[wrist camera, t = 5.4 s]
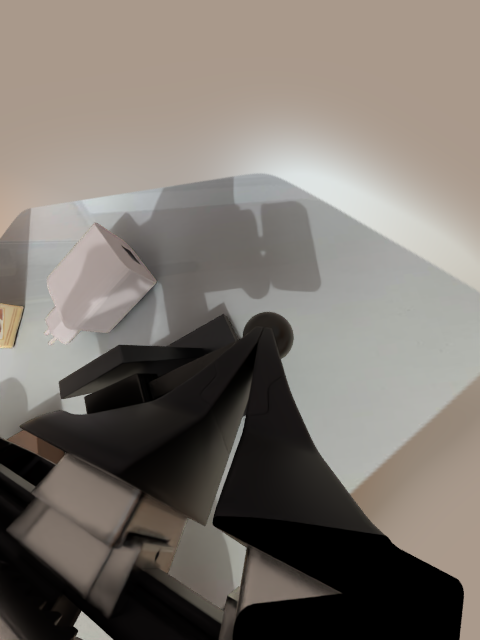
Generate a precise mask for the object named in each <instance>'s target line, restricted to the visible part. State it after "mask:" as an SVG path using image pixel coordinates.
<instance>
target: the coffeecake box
mask: <svg viewBox="0 0 480 640" xmlns="http://www.w3.org/2000/svg"><path fill="white" fill-rule="evenodd" d="M22 312H23V306H15V305H8V304H2V303H0V348H13V346H14V341H15V336H16V333H17V329H18V326H19V323H20V320H21V316H22Z"/></svg>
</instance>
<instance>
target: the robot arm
mask: <svg viewBox="0 0 480 640" xmlns="http://www.w3.org/2000/svg"><path fill="white" fill-rule="evenodd" d="M247 402H248V406H247V412H246V418H245V424H244V428H243V433H242V436H241V438H240V441H239V444H238V447H237V450H236V452H235V455H234V458H233V461H232V464H231V467H230V469H229V472H228V475H227V478H226V481H225V484H224V486H223V489H222V492H221V495H220V498H219V501H218V504H217V506H216V510H215V514H214V518H213V522H212V523H213V525H214V526H215V527H216V528H218V529H219V530H221V531H222V532H224V533H225V534H227V535H228V536H230V537H231V538H233V539H234V540H236V541H237V542H239V543H240V544H242V545H243V546H245V547H246V548H247V550H246V555H245V561H244V567H243V573H242V579H241V585H240V587H239V586H238V587H237V588H236V589H235V590H234V591H233V592H231V593H230V594H229V595H228V596H227V600H226V604H225V609H224V611H223V610H221V609H220V608H218V607H217V606H215V605H214V604H212V603H211V602H209V601H208V600H206V599H205V598H203V597H202V596H200V595H199V594H197V593H196V592H194V591H193V590H191V589H190V588H188V587H187V586H185V585H184V584H182V583H181V582H179V581H178V580H176V579H174V578H173V577H171V576H170V575H168V572H169V569H170V566H171V564H172V561H173V558H174V555H175V553H176V550H177V547H178V544H179V542H180V539H181V536H182V533H183V531H184V528H185V525H186V522H187V520H188V518H190V519H192V520H194V521H196V522H198V523H200V524H202V525H204V526H206V523H207V520H208V517H209V514H210V511H211V508H212V505H213V502H214V499H215V497H216V494H217V491H218V488H219V485H220V482H221V479H222V476H223V473H224V470H225V467H226V464H227V461H228V458H229V455H230V452H231V449H232V446H233V443H234V440H235V437H236V434H237V431H238V428H239V425H240V422H241V419H242V416H243V414H244V411H245V408H246V405H247ZM20 428H22V429H23V430H25V431H27V432H29V433H31V434H33V435H34V436H36V437H38V438H40V439H42V440H44V441H45V442H47V443H49V444H51V445H53V446H55V447H57V448H58V449H60V450H62V451H64V452H66V454H65V455H64V456H63V458H62V459H61V460H60V461H59V462H58V463H57V464H55V463H53V462H51V461H49V460H47V459H45V458H43V457H41V456H39V455H38V454H36V453H34V452H31V451H29V450H27V449H25V448H23V447H21V446H19V445H16V444H14V443H12V442H10V441H8V440H6V439H4V438H1V437H0V640H82V639H81V638H78V637H75V636H76V635H77V633H78V630H77V629H76V628H75V627H73V626H74V624H75V622H76V620H77V618H78V616H79V614H80V613H81V611H82V612H84V613H85V614H86V615H87V616H88V617H89V618H90V619H91V620H92V621H94V622H95V623H96V624H97V625H98V626H99V627H100V628H101V629H102V630H104V631H105V632H106V633H107V634H108V635H109V636H110V637H111V638H112V639H113V640H459V638H460V628H461V619H462V609H463V599H464V591H463V587H462V585H461V583H460V581H459V580H458V579H456V578H454V577H452V576H450V575H449V574H447V573H445V572H443V571H441V570H439V569H437V568H435V567H433V566H431V565H430V564H428V563H426V562H424V561H422V560H420V559H418V558H416V557H414V556H412V555H410V554H408V553H407V552H405V551H403V550H401V549H399V548H398V547H396V546H395V545H394V544H393V543H392V542H391V541H390V539H389V538H388V537H387V536H386V535H384V534H383V533H382V532H381V531H380V530H379V529H378V528H377V527H376V526H375V525H373V524H372V522H371V521H370V520H369V519H368V518H367V516H366V515H365V514H364V513H363V511H362V510H361V509H360V507H359V506H358V505H357V504H356V502H355V501H354V499H353V498H352V497H351V495H350V494H349V493H348V491H347V490H346V489H345V487H344V486H343V485H342V483H341V482H340V481H339V479H338V478H337V477H336V475H335V474H334V473H333V471H332V470H331V469H330V467H329V466H328V465H327V463H326V462H325V461H324V459H323V458H322V456H321V455H320V453H319V452H318V450H317V448H316V447H315V445H314V443H313V441H312V439H311V437H310V435H309V433H308V430H307V428H306V426H305V424H304V422H303V419H302V417H301V415H300V413H299V410H298V408H297V406H296V404H295V401H294V399H293V397H292V394H291V391H290V388H289V385H288V382H287V379H286V376H285V373H284V369H283V366H282V362H281V359H280V355H279V352H278V348H277V345H276V341H275V338H274V335H273V331H272V328H267V327H265V328H264V327H258V326H257V327H255V328H254V329H253V330H251V331H250V332H249V333H248V334H246V335H245V336H244V337H243V338H241V339H240V340H239V341H238V342H236V343H235V344H234V345H233V346H231V347H230V348H229V349H228V350H226V351H225V352H224V353H223V354H221V355H220V356H219V357H218V358H217V359H215V360H214V362H211V363H210V364H209V365H208V366H206V367H205V368H204V369H203V370H201V371H200V372H199V373H197V374H196V375H194V376H193V377H191V378H190V379H188V380H187V381H185V382H184V383H182V384H181V385H179V386H178V387H176V388H175V389H173V390H172V391H170V392H169V393H167V394H166V395H164V396H162V397H160V398H158V399H156V400H154V401H151V402H147V403H142V404H138V405H133V406H128V407H123V408H118V409H113V410H108V411H103V412H98V413H92V414H84V415H75V414H71V413H68V412H66V411H62V410H59V411H55V412H52V413H48V414H44V415H41V416H38V417H36V418H34V419H31V420H29V421H27V422H26V423H24V424H22V425H21V426H20Z"/></svg>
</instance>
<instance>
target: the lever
mask: <svg viewBox="0 0 480 640" xmlns="http://www.w3.org/2000/svg"><path fill="white" fill-rule="evenodd" d="M257 326H258V327H264V328H265V327H267V328H272V331H273V335H274V338H275V341H276V345H277V348H278V352H279V355H280V359H282V358H283V357H285V356H286V355H287V354H288V353H289V351H290V349H291V347H292V345H293V340H294V336H293V330H292V327H291V325H290V324H289V322H288V321H287V320H286V319H285V318H284V317H282V316H281V315H279V314H277V313H273V312H263V313H259V314H257V315H255V316H253V317H252V318H251V319H250V320H249V321H248V322H247V324H246V326H245V328H244V331H243V337H244V336H245V335H246V334H248V333H249V332H250V331H251V330H253V329H254V328H255V327H257ZM239 340H240V339H239ZM239 340H237V341H234V342H232V343H230V344H228V345H226V346H224V347H222V348H219V349H217V350H215V351H213V352H211V353H209V354H206V355H204V356H202V357H200V358H198V359H196V360H194V361H191V362H189V363H187V364H185V365H183V366H181V367H178V368H176V369H174V370H172V371H170V372H168V373H166V374H163V375H161V376H159V377H158V375H157V374H149V373H136V374H133V375H131V376H129V377H127V378H125V379H122V380H120V381H118V382H116V383H114V384H111V385H109V386H107V387H105V388H103V389H100V390H98V391H96V392H94V393H92V394H89V395H87V396H85V397H84V399H85V405H86V411H87V414H92V413H98V412H103V411H108V410H113V409H118V408H123V407H128V406H133V405H138V404H142V403H147V402H151V401H154V400H156V399H158V398H160V397H162V396H164V395H166V394H167V393H169V392H170V391H172V390H173V389H175V388H176V387H178V386H179V385H181V384H182V383H184V382H185V381H187V380H188V379H190V378H191V377H193V376H194V375H196V374H197V373H199V372H200V371H201V370H203V369H204V368H205V367H206V366H208V365H209V364H210V363H211V362H214V360H215V359H217V358H218V357H219V356H220V355H221V354H223V353H224V352H225V351H226V350H228V349H229V348H230V347H231V346H233V345H234V344H235V343H236V342H238V341H239Z"/></svg>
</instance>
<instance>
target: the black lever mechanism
mask: <svg viewBox="0 0 480 640" xmlns="http://www.w3.org/2000/svg"><path fill="white" fill-rule="evenodd" d="M237 340H238V338H237V336H236V334H235V332H234V330H233V327H232V325H231V323H230V321H229V319H228V317H227V316H226V315H224V314H222V315H221V316H219V317H217V318H215V319H214V320H212V321H210V322H208V323H207V324H205V325H203V326H201V327H200V328H198V329H196V330H195V331H193V332H191V333H189V334H188V335H186V336H184V337H182V338H181V339H179V340H177V341H175V342H174V343H172V344H170V345H168V346H167V347H164V346H137V345H118V346H116V347H115V348H113V349H111V350H110V351H108V352H106V353H105V354H103V355H101V356H100V357H98V358H97V359H95V360H93V361H92V362H90V363H88V364H87V365H85V366H84V367H82V368H80V369H79V370H77V371H75V372H74V373H72V374H70V375H69V376H67V377H66V378H64V379H62V380H61V381H59V388H60V395H61V399H66V398H71V397H75V396H80V395H85V394H90V393H94V392H96V391H98V390H100V389H103V388H105V387H107V386H109V385H111V384H114V383H116V382H118V381H120V380H122V379H125V378H127V377H129V376H131V375H133V374H136V373H149V374H157V375H158V377H159V376H161V375H163V374H166V373H168V372H170V371H172V370H174V369H176V368H178V367H181V366H183V365H185V364H187V363H189V362H191V361H194V360H196V359H198V358H200V357H202V356H204V355H206V354H209V353H211V352H213V351H215V350H217V349H219V348H222V347H224V346H226V345H228V344H230V343H232V342H234V341H237ZM247 406H248V402H247V405H246V408H245V411H244V414H243V416H245V415H246V412H247ZM243 416H242V417H243Z"/></svg>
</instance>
